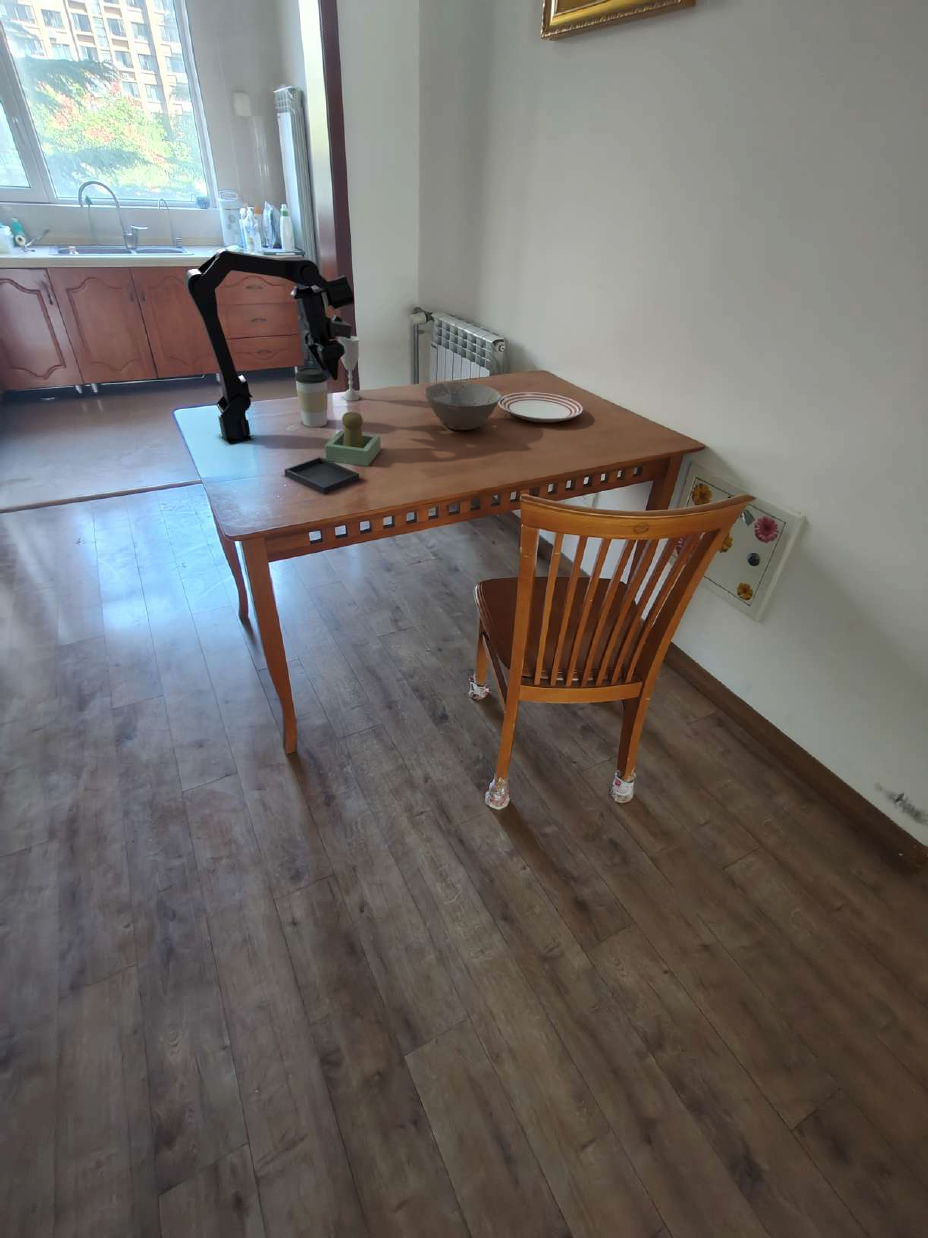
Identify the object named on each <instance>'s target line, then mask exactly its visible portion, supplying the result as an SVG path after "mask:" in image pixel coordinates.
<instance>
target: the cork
mask: <svg viewBox="0 0 928 1238" xmlns="http://www.w3.org/2000/svg"><path fill="white" fill-rule="evenodd" d="M363 422H364V419H363V417H362V415H361V414H360V413H358V412H355V411H347V412H345V413H344V414H343V415H342V417H341V423H342V425H343V427H344V428H343V431H344V441H343V446H349V447H357V448H364V443H363V437H362V433H363V432H362V426H363Z"/></svg>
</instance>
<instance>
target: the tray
mask: <svg viewBox="0 0 928 1238" xmlns="http://www.w3.org/2000/svg"><path fill="white" fill-rule="evenodd" d="M284 476H285V477H287V478H289V479H291V480H293V481H295V482H296V483H297V482H298V483H299V484H301V485H303V486H306V487H308V488H310V489H312V490H314V491H316V492H318V493H321V494H322V495H327V494H329V493H332V492H334V491H336V490H339V489H341V488H344V487H346V486H349V485H351V484H354V483H356V482H358V481H360V473H358V472H356V471H353V470H352V469H349V468H347V467H345V466H342V465H340V464H337V463H335V462H334V461H329V460H326V458H324V457H321V456H318V457H315V458H312V459H309V460H306V461H304V462H301V463H298V464H295V465H293V466H290V467H287V468H284Z"/></svg>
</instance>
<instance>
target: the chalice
mask: <svg viewBox="0 0 928 1238" xmlns="http://www.w3.org/2000/svg"><path fill="white" fill-rule="evenodd" d="M336 340H337V341H338V342H340V343H341V344H342V345H343V346H344V349H345V354H344V355H343V356H342V357H341V358H340V360H341V362H342V364H343V366H344V369H345V370H347V371H348V375H347V378H348V381H347V384H348V386H349V388H348V389H347V390H346V391H345V393H344V396H343V399H344V400H345V401H350V402H351V401H352V402H353V401H358V400H360V397H359V393H358V392H357V390H355V389H354V388H353V384H354V381H353V378H354V375H353V373H352V372H353V371H354V370H355V368H356V365H357V363H358V360H359V356H360V353H359V352H360V351H359V349H360V348H359V342H360V337H358V336H355V335H351V338H350V339H349V338H346V337H340V336H337V337H336Z"/></svg>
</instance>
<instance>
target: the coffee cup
mask: <svg viewBox="0 0 928 1238" xmlns="http://www.w3.org/2000/svg"><path fill="white" fill-rule="evenodd" d="M328 379H329V378H328V375H327V374H326V372H324V371H323V370H322V368H321V367H320V366H312V367H311V366H306V367H301V368H299V369H298V370H297V371H296V373H295V374H294V381H295V384H296V387H295V388H296V392H297V397H298V403H299V409H300V412H301V417H302V423H303V425H305V426H307V427H312V428H320V427H324V426H327V424H328V402H329V401H328V399H329V398H328V397H329V396H328V391H329V390H328Z"/></svg>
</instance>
